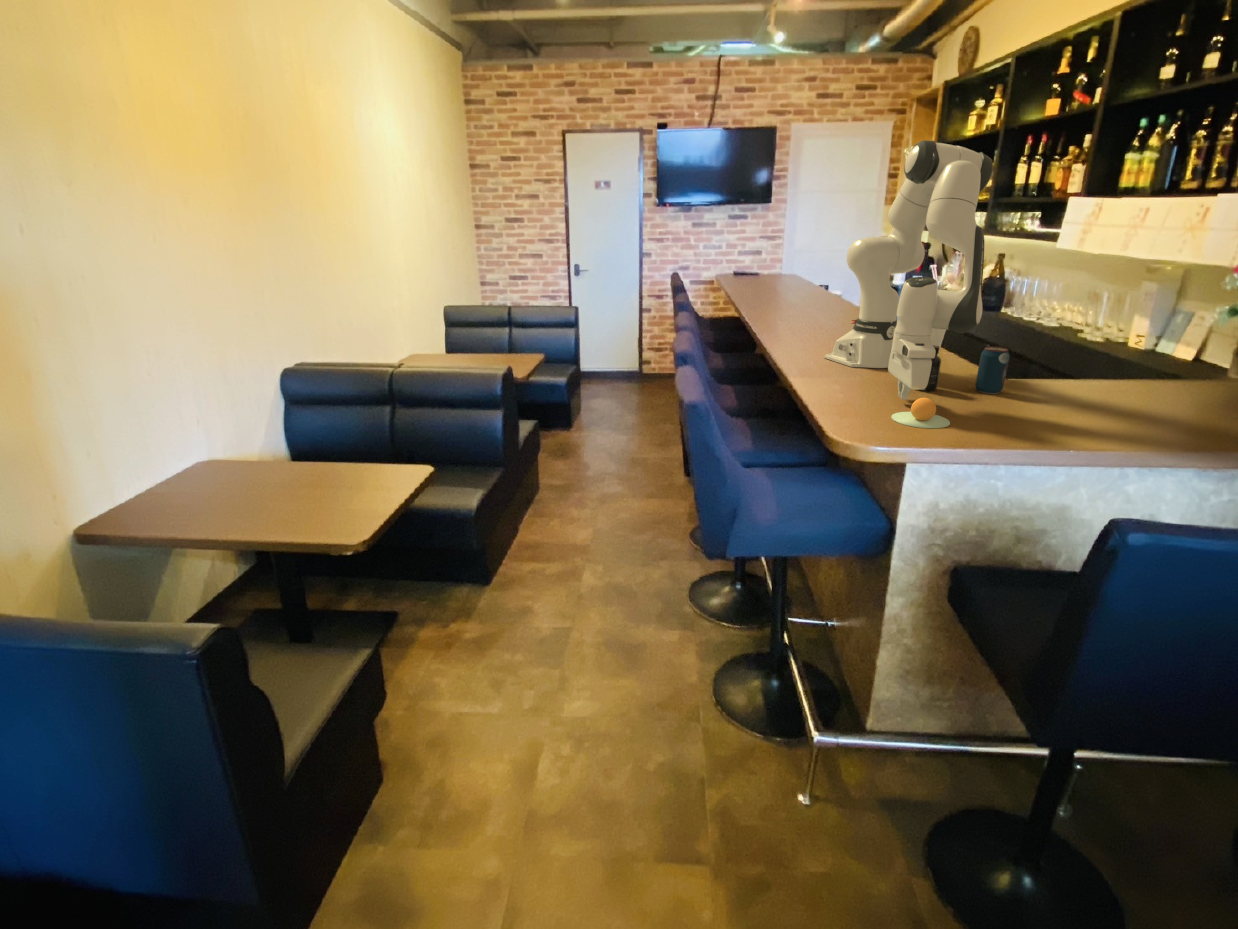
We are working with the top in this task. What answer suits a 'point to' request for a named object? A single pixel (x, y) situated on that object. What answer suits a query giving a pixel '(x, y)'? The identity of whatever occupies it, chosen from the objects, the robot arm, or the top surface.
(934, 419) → the pale green disc
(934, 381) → the supplement bottle
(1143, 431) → the top surface
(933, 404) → the ball
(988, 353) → the soda can
